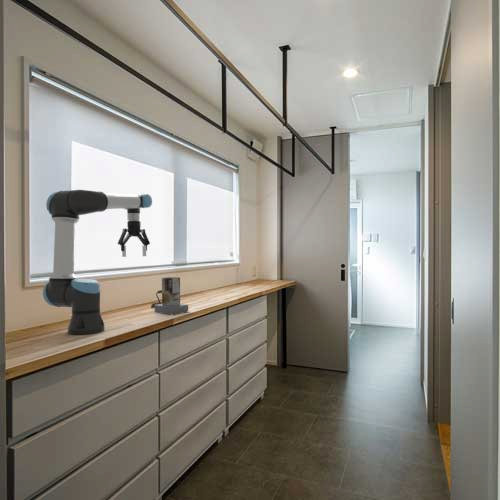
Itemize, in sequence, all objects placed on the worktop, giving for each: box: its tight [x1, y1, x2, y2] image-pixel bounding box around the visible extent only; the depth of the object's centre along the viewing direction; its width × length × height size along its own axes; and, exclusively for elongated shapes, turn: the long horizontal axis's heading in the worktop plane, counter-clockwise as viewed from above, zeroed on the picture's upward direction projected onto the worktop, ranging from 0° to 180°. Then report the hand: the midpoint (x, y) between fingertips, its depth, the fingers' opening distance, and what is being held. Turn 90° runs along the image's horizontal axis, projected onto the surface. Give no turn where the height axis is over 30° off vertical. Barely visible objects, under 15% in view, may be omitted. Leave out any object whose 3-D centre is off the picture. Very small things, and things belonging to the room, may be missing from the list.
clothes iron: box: [150, 289, 162, 309], centre depth 237 cm, size 14×10×11 cm
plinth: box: [154, 303, 189, 315], centre depth 216 cm, size 12×16×4 cm
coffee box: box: [161, 276, 181, 306], centre depth 216 cm, size 9×6×16 cm
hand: (134, 256), depth 219 cm, fingers open, 13 cm apart
